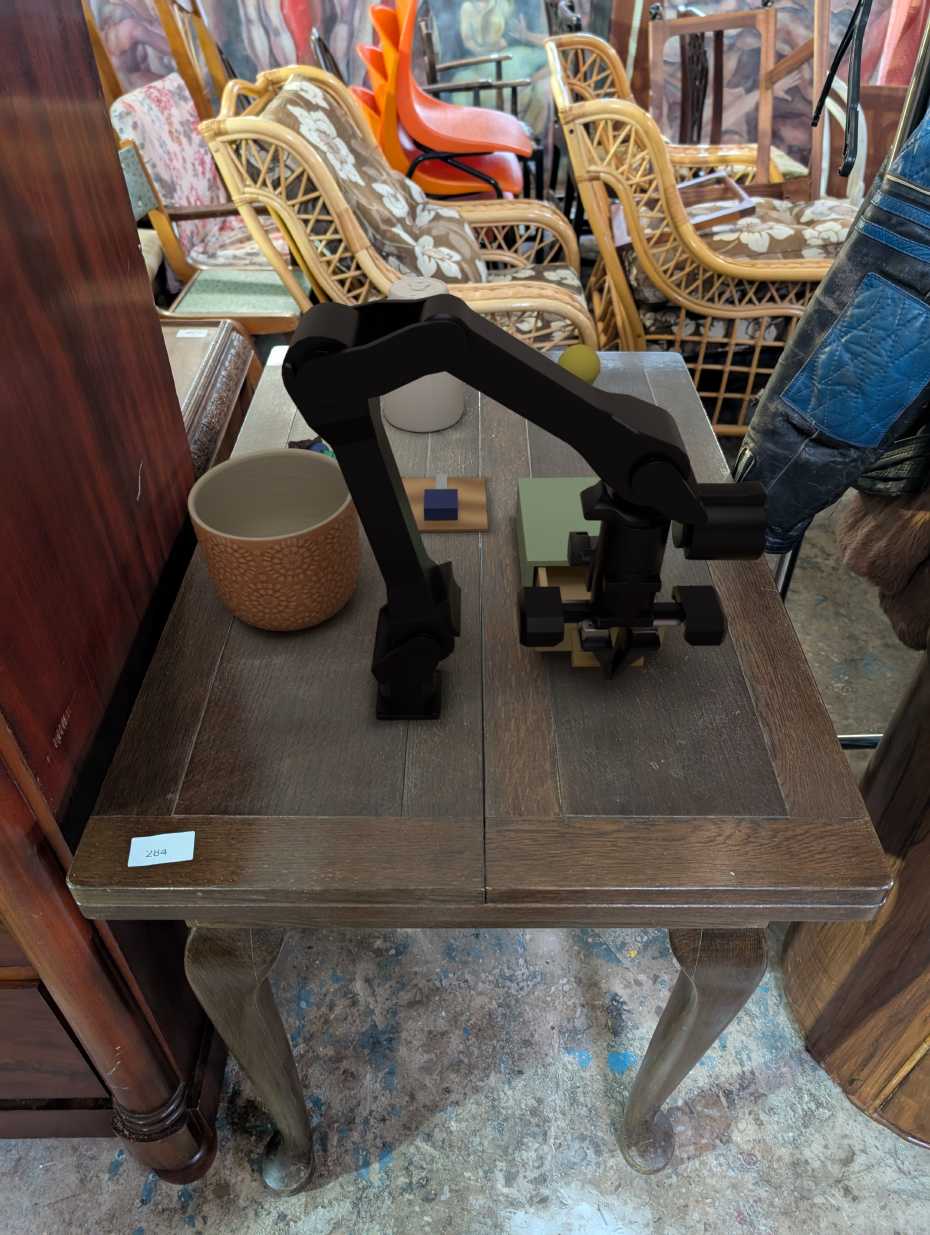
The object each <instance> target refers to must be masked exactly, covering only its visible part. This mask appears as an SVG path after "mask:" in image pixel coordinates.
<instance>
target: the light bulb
mask: <svg viewBox="0 0 930 1235" xmlns="http://www.w3.org/2000/svg"><path fill="white" fill-rule="evenodd" d="M556 363H557V364H559V365H560V366H562V367H563V368H565V369H566V370H568V371H570V372H571V373H573V374H574V375H576V376H578V377H579V378H581V379H582V380H584V381H585V382H587V383H589V384H590V385H592V386H593V384H594V383H595V382H596V380H597V379H598V377H599V375H601V374H600V373H601V367H602V366H601V365H602V363H601V359H600V355H598V353H597V352H596V350H595V349H594V348H592V347H591V346H589V345H586V344H579V343H578V344H573V345H571V346H569V347H567V348H566V349H565V350H563V351H562V353H561V354H560V355H559V357H558V360H557V362H556Z"/></svg>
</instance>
